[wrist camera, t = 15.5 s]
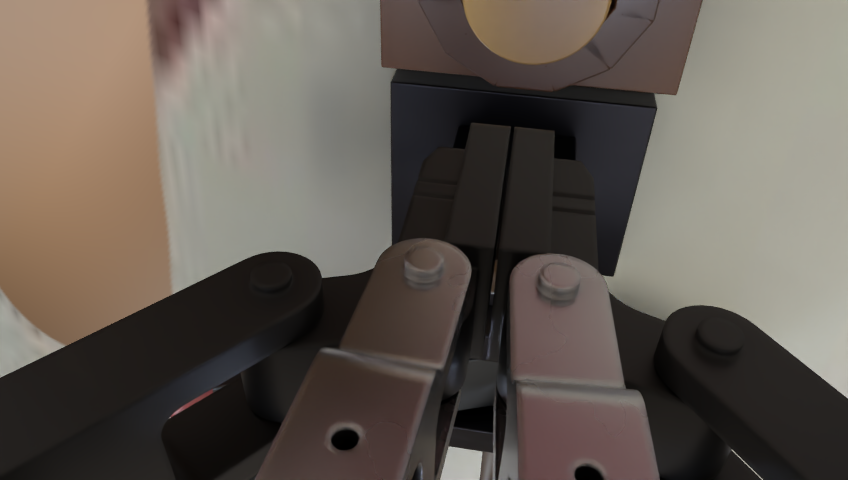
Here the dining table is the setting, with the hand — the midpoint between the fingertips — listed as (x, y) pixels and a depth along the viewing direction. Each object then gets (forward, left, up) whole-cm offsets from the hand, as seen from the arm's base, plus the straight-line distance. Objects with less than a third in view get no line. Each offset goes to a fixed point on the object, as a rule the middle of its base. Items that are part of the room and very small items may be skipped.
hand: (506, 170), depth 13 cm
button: (0, 0, -10) cm, 10 cm away
